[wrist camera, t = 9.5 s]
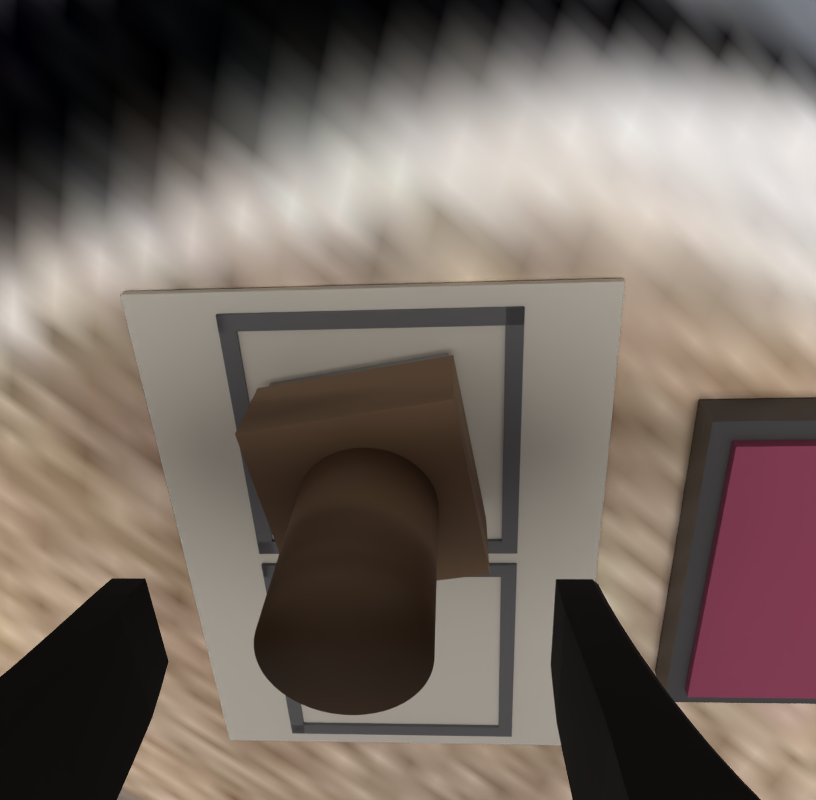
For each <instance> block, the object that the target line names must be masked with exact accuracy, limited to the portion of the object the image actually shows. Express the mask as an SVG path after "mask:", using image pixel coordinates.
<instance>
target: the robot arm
mask: <svg viewBox="0 0 816 800" xmlns="http://www.w3.org/2000/svg"><path fill="white" fill-rule="evenodd" d="M167 665H168V658H167V655H166V651H165V648H164V644H163V641H162V637H161V633H160V630H159V626H158V623H157V619H156V615H155V612H154V608H153V605H152V601H151V597H150V594H149V590H148V587H147V583H146V580H145V579H111V580H110V581H109V582H108V583H106V584H105V585H104V586H103V587H102V588H100V589H99V590H98V591H97V592H96V593H95V594H94V595H93V596H91V597H90V598H89V599H88V600H87V601H86V602H85V603H84V604H83V605H81V606H80V607H79V608H78V609H77V610H76V611H75V612H74V613H73V614H72V615H70V616H69V617H68V618H67V619H66V620H65V621H64V622H63V623H62V624H60V625H59V626H58V627H57V628H56V629H55V630H54V631H53V632H52V633H50V634H49V635H48V636H47V637H46V638H45V639H44V640H43V641H41V642H40V643H39V644H38V645H37V646H36V647H35V648H33V649H32V650H31V651H30V652H29V653H28V654H27V655H26V656H24V657H23V658H22V659H21V660H20V661H19V662H18V663H16V664H15V665H14V666H13V667H12V668H11V669H9V670H8V671H7V672H6V673H4V674H3V675H2V676H1V677H0V800H117V798H118V795H119V793H120V791H121V789H122V786H123V784H124V782H125V779H126V777H127V775H128V773H129V770H130V768H131V766H132V764H133V761H134V759H135V757H136V754H137V752H138V750H139V747H140V745H141V743H142V740H143V738H144V736H145V733H146V731H147V728H148V726H149V724H150V721H151V719H152V716H153V713H154V709H155V706H156V703H157V700H158V697H159V693H160V690H161V686H162V683H163V679H164V675H165V672H166V668H167ZM551 674H552V684H553V694H554V703H555V712H556V721H557V727H558V732H559V737H560V742H561V746H562V751H563V756H564V760H565V765H566V770H567V775H568V779H569V784H570V788H571V793H572V798H573V800H760V799H759V798H758V797H757V795H756V794H755V793H754V792H753V791H752V790H751V789H750V788H749V787H748V786H747V785H746V784H745V783H744V782H743V781H742V780H741V779H740V778H739V777H738V776H737V775H736V774H735V772H734V771H733V770H732V769H731V768H730V767H729V766H728V765H727V764H726V763H725V761H724V760H723V759H722V758H721V757H720V756H719V755H718V754H717V753H716V751H715V750H714V749H713V748H712V747H711V746H710V744H709V743H708V742H707V741H706V740H705V739H704V737H703V736H702V735H701V734H700V733H699V731H698V730H697V729H696V728H695V727H694V725H693V724H692V723H691V722H690V720H689V719H688V718H687V717H686V715H685V714H684V713H683V712H682V710H681V709H680V708H679V707H678V705H677V704H676V703H675V701H674V700H673V699H672V698H671V696H670V695H669V694H668V692H667V691H666V690H665V688H664V687H663V686H662V684H661V683H660V681H659V680H658V679H657V677H656V676H655V674H654V673H653V672H652V670H651V669H650V667H649V666H648V664H647V663H646V662H645V660H644V659H643V657H642V656H641V655H640V653H639V652H638V650H637V649H636V647H635V646H634V644H633V643H632V641H631V640H630V638H629V636H628V635H627V633H626V632H625V630H624V629H623V627H622V625H621V624H620V622H619V621H618V619H617V617H616V616H615V614H614V612H613V611H612V609H611V607H610V605H609V604H608V602H607V600H606V598H605V597H604V595H603V593H602V591H601V589H600V587H599V585H598V584H597V583H596V582H595V581H594V580H593V579H556V586H555V602H554V618H553V634H552V650H551Z"/></svg>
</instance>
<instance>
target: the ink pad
mask: <svg viewBox="0 0 816 800" xmlns="http://www.w3.org/2000/svg"><path fill="white" fill-rule="evenodd" d="M655 673H656V677H657V679H658V680H659V681H660V683H661V684H662V686H663V687H664V688H665V690H666V691H667V692H668V694H669V695H670V696H671V698H672V699H673V700H674V701H675V702H725V703H809V704H816V398H793V399H728V400H699V405H698V411H697V418H696V424H695V430H694V436H693V442H692V449H691V455H690V461H689V467H688V473H687V480H686V486H685V492H684V498H683V504H682V511H681V517H680V523H679V529H678V536H677V542H676V548H675V554H674V560H673V567H672V573H671V579H670V585H669V591H668V598H667V604H666V610H665V616H664V622H663V629H662V635H661V641H660V647H659V653H658V660H657V666H656V672H655Z"/></svg>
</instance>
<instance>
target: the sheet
mask: <svg viewBox="0 0 816 800" xmlns="http://www.w3.org/2000/svg"><path fill="white" fill-rule="evenodd" d="M624 289H625V280H624V279H623V278H615V279H577V280H540V281H503V282H465V283H428V284H390V285H353V286H316V287H278V288H241V289H203V290H166V291H129V292H123V293H122V294H120V297H121V301H122V305H123V309H124V313H125V317H126V321H127V325H128V329H129V333H130V337H131V341H132V345H133V349H134V353H135V357H136V361H137V366H138V370H139V374H140V378H141V382H142V386H143V390H144V394H145V398H146V402H147V406H148V410H149V414H150V418H151V422H152V426H153V431H154V435H155V439H156V443H157V447H158V451H159V455H160V459H161V463H162V467H163V471H164V475H165V479H166V483H167V487H168V491H169V495H170V500H171V504H172V508H173V512H174V516H175V520H176V524H177V528H178V532H179V536H180V540H181V544H182V548H183V552H184V556H185V560H186V565H187V569H188V573H189V577H190V581H191V585H192V589H193V593H194V597H195V601H196V605H197V609H198V613H199V617H200V621H201V625H202V629H203V634H204V638H205V642H206V646H207V650H208V654H209V658H210V662H211V666H212V670H213V674H214V678H215V682H216V686H217V690H218V694H219V699H220V703H221V707H222V711H223V715H224V719H225V723H226V727H227V731H228V735H229V739H230V740H257V741H319V742H382V743H444V744H506V745H561V742H560V737H559V732H558V727H557V721H556V712H555V703H554V694H553V684H552V674H551V650H552V634H553V618H554V602H555V586H556V579H593V580H594V581H595V582H596V575H597V564H598V554H599V544H600V534H601V524H602V513H603V503H604V493H605V483H606V473H607V462H608V452H609V442H610V432H611V422H612V411H613V401H614V391H615V381H616V370H617V360H618V350H619V340H620V330H621V319H622V309H623V299H624ZM444 353H448V356H451V355H453V357H454V362H455V367H456V371H457V376H458V381H459V386H460V391H461V396H462V401H463V406H464V411H465V416H466V421H467V426H468V431H469V436H470V441H471V446H472V451H473V456H474V461H475V466H476V471H477V476H478V481H479V486H480V490H481V495H482V500H483V505H484V510H485V515H486V524H487V540H488V556H489V571H490V574H486V575H478V576H470V577H462V578H454V579H446V580H438V581H437V584H436V621H435V657H434V666H433V670H432V673H431V675H430V678H429V679H428V681H427V683H426V684H425V686H424V687H423V688H422V689H421V690H420V691H419V692H418V693H417V694H416V695H415V696H414V697H412V698H411V699H409V700H408V701H406V702H405V703H403V704H401V705H399V706H397V707H394V708H392V709H389V710H386V711H382V712H378V713H373V714H366V715H340V714H332V713H327V712H323V711H319V710H316V709H312V708H309V707H307V706H305V705H302V704H300V703H298V702H296V701H294V700H292V699H290V698H289V697H287V696H286V695H284V694H283V693H281V692H280V691H279V690H278V689H277V688H276V687H274V686H273V685H272V684H271V682H270V681H269V680H268V679H267V678H266V677H265V675H264V674H263V672H262V671H261V669H260V667H259V665H258V663H257V660H256V657H255V652H254V635H255V631H256V627H257V624H258V621H259V618H260V614H261V611H262V608H263V605H264V601H265V598H266V595H267V592H268V589H269V585H270V582H271V579H272V576H273V572H274V569H275V566H276V563H277V560H278V556H279V551H278V548H277V545H276V543H275V540H274V537H273V535H272V532H271V529H270V526H269V524H268V521H267V518H266V516H265V513H264V510H263V508H262V505H261V502H260V500H259V497H258V494H257V492H256V489H255V486H254V484H253V481H252V478H251V476H250V473H249V470H248V468H247V465H246V462H245V460H244V457H243V454H242V452H241V449H240V446H239V444H238V441H237V438H236V436H235V433H236V431H237V429H238V427H239V425H240V423H241V421H242V419H243V417H244V415H245V413H246V411H247V409H248V407H249V405H250V403H251V401H252V399H253V397H254V395H255V393H256V391H257V389H258V388H262V387H268V386H269V385H270V383H273V382H279V381H285V380H290V379H296V378H302V377H308V376H314V375H320V374H326V373H332V372H338V371H343V370H349V369H355V368H361V367H367V366H373V365H379V364H385V363H391V362H396V361H402V360H408V359H414V358H420V357H426V356H432V355H438V354H444Z"/></svg>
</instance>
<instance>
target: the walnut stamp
mask: <svg viewBox="0 0 816 800" xmlns="http://www.w3.org/2000/svg"><path fill="white" fill-rule="evenodd" d="M235 436H236V438H237V441H238V444H239V446H240V449H241V452H242V454H243V457H244V460H245V462H246V465H247V468H248V470H249V473H250V476H251V478H252V481H253V484H254V486H255V489H256V492H257V494H258V497H259V500H260V502H261V505H262V508H263V510H264V513H265V516H266V518H267V521H268V524H269V526H270V529H271V532H272V535H273V537H274V540H275V543H276V545H277V548H278V551H279V556H278V560H277V563H276V566H275V569H274V572H273V576H272V579H271V582H270V585H269V589H268V592H267V595H266V598H265V601H264V605H263V608H262V611H261V614H260V618H259V621H258V624H257V627H256V631H255V635H254V652H255V657H256V660H257V663H258V665H259V667H260V669H261V671H262V672H263V674H264V675H265V677H266V678H267V679H268V680H269V681H270V682H271V684H272V685H273V686H274V687H276V688H277V689H278V690H279V691H280V692H281V693H283V694H284V695H286V696H287V697H289V698H290V699H292V700H294V701H296V702H298V703H300V704H302V705H305V706H307V707H309V708H312V709H316V710H319V711H323V712H327V713H332V714H340V715H366V714H373V713H378V712H382V711H386V710H389V709H392V708H394V707H397V706H399V705H401V704H403V703H405V702H406V701H408V700H409V699H411V698H412V697H414V696H415V695H416V694H417V693H418V692H419V691H420V690H421V689H422V688H423V687H424V686H425V684H426V683H427V681H428V679H429V678H430V675H431V673H432V670H433V666H434V657H435V621H436V584H437V581H438V580H446V579H454V578H462V577H470V576H478V575H486V574H490V571H489V556H488V540H487V524H486V515H485V510H484V505H483V500H482V495H481V490H480V486H479V481H478V476H477V471H476V466H475V461H474V456H473V451H472V446H471V441H470V436H469V431H468V426H467V421H466V416H465V411H464V406H463V401H462V396H461V391H460V386H459V381H458V376H457V371H456V367H455V362H454V357H453V355H451V356H448V353H444V354H438V355H432V356H426V357H420V358H414V359H408V360H402V361H396V362H391V363H385V364H379V365H373V366H367V367H361V368H355V369H349V370H343V371H338V372H332V373H326V374H320V375H314V376H308V377H302V378H296V379H290V380H285V381H279V382H273V383H270V385H269V386H268V387H262V388H258V389H257V391H256V393H255V395H254V397H253V399H252V401H251V403H250V405H249V407H248V409H247V411H246V413H245V415H244V417H243V419H242V421H241V423H240V425H239V427H238V429H237V431H236V433H235Z"/></svg>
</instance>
